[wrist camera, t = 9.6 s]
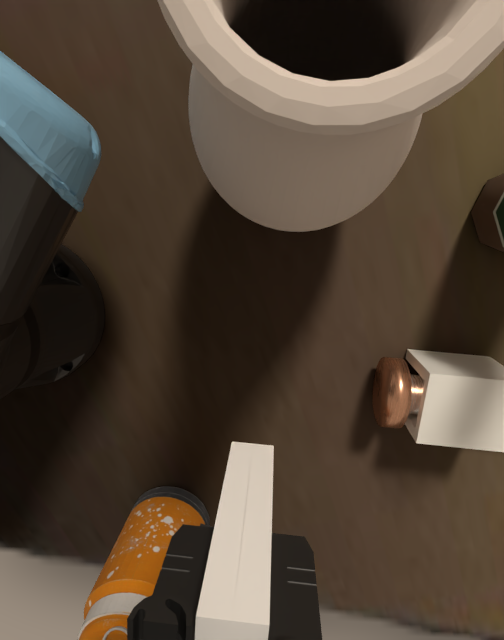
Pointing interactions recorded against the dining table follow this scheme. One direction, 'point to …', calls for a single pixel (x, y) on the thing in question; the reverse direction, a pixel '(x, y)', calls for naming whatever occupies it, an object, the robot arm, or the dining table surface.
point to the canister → (138, 559)
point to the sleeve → (458, 401)
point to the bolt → (395, 392)
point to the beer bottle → (490, 214)
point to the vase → (321, 94)
